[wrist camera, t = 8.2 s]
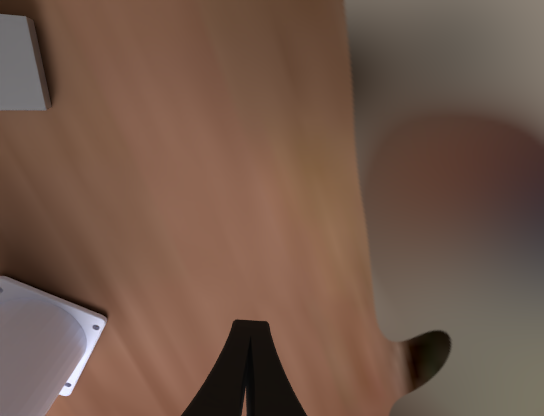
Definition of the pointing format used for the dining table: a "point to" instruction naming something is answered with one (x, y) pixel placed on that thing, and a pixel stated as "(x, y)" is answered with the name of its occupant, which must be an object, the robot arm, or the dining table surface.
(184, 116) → the dining table surface
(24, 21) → the domino
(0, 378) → the robot arm
